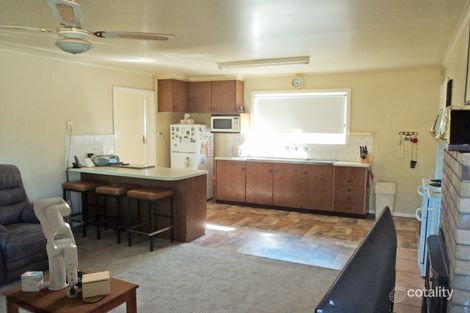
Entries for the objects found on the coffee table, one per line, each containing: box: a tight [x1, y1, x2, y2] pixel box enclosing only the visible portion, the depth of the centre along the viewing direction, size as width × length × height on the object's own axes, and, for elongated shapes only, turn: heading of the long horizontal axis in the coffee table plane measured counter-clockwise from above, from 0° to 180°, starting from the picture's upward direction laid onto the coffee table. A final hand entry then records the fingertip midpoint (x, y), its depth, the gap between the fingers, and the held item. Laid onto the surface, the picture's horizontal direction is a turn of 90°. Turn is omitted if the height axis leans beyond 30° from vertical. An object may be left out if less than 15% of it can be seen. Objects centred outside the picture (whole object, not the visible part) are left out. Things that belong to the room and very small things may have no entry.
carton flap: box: [81, 270, 111, 283], centre depth 231 cm, size 16×14×1 cm
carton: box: [81, 278, 111, 299], centre depth 231 cm, size 16×14×9 cm
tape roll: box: [66, 285, 79, 299], centre depth 226 cm, size 6×6×5 cm
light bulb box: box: [20, 271, 45, 292], centre depth 235 cm, size 11×7×11 cm, turn 87°
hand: (73, 291), depth 225 cm, fingers open, 9 cm apart
